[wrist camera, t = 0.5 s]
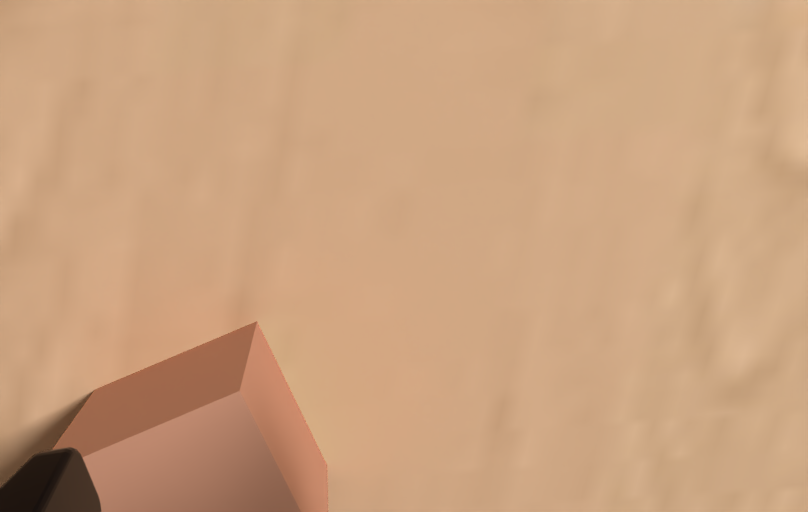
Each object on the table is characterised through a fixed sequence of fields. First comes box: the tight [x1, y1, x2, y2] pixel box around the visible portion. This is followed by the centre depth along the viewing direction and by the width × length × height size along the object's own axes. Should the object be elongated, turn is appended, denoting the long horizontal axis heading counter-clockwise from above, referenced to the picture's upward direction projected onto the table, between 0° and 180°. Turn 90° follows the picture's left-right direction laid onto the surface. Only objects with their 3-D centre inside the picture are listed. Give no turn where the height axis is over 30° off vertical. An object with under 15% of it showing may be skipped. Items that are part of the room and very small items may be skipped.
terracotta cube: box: [52, 322, 328, 512], centre depth 20 cm, size 5×5×5 cm
